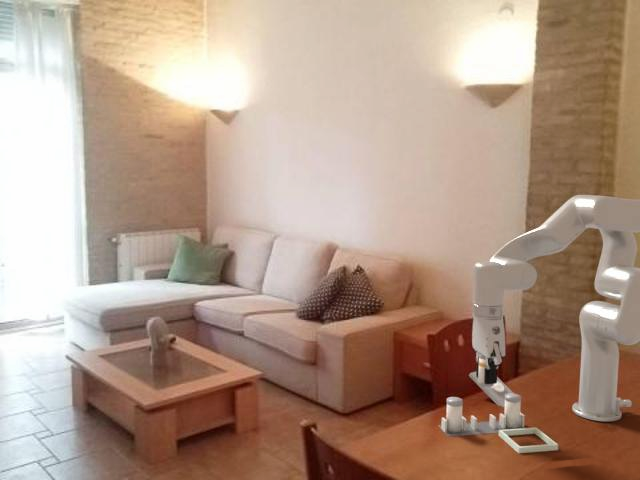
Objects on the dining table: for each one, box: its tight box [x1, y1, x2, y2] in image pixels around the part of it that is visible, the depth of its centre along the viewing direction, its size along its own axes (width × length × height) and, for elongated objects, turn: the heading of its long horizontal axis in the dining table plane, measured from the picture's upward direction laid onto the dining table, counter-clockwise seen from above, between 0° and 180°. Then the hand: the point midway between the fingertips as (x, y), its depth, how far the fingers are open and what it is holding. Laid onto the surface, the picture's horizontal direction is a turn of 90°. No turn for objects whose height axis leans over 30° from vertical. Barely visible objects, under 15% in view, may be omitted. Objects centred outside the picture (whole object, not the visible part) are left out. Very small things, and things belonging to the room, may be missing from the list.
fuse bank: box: [437, 392, 527, 438], centre depth 163 cm, size 22×7×9 cm, turn 101°
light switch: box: [468, 371, 514, 408], centre depth 185 cm, size 8×6×14 cm
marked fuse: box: [477, 353, 494, 387], centre depth 161 cm, size 4×4×8 cm
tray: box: [498, 427, 559, 454], centre depth 155 cm, size 10×10×2 cm
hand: (486, 379), depth 162 cm, fingers closed on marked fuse, 3 cm apart
